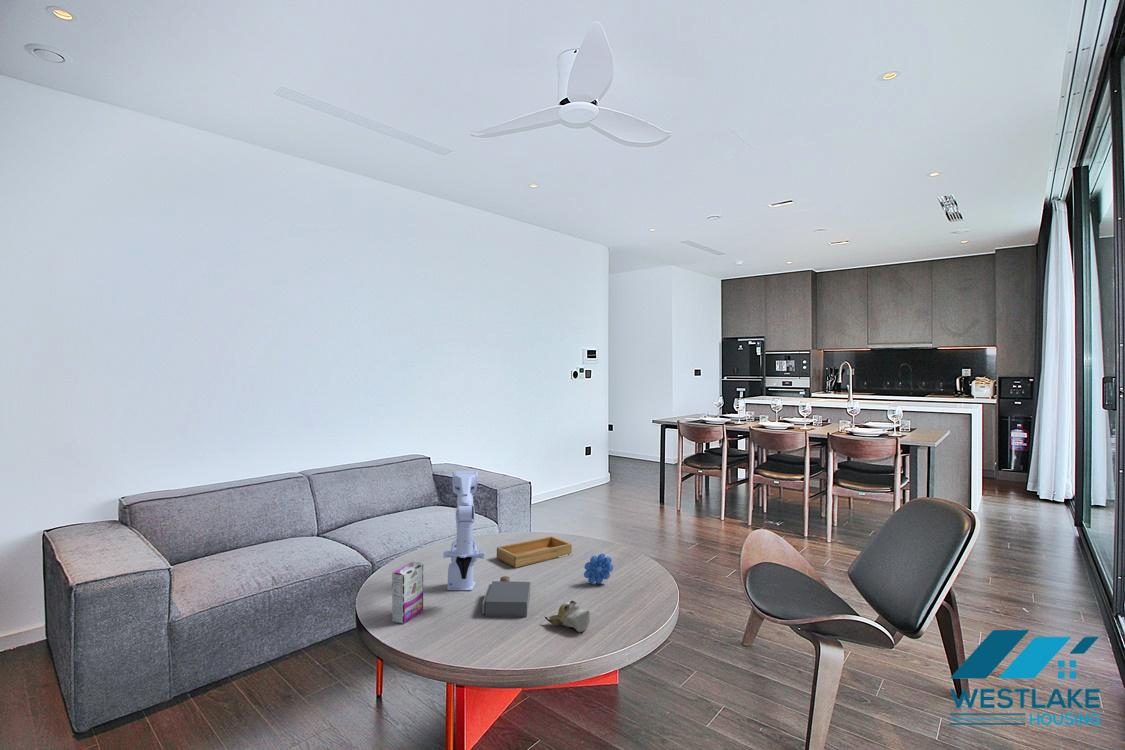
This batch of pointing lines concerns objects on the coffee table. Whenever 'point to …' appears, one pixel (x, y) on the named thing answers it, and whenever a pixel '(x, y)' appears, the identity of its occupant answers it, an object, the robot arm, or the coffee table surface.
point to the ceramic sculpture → (571, 616)
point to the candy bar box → (407, 592)
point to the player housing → (508, 599)
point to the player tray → (485, 600)
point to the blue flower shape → (598, 569)
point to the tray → (533, 551)
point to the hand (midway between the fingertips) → (464, 578)
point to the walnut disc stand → (505, 578)
